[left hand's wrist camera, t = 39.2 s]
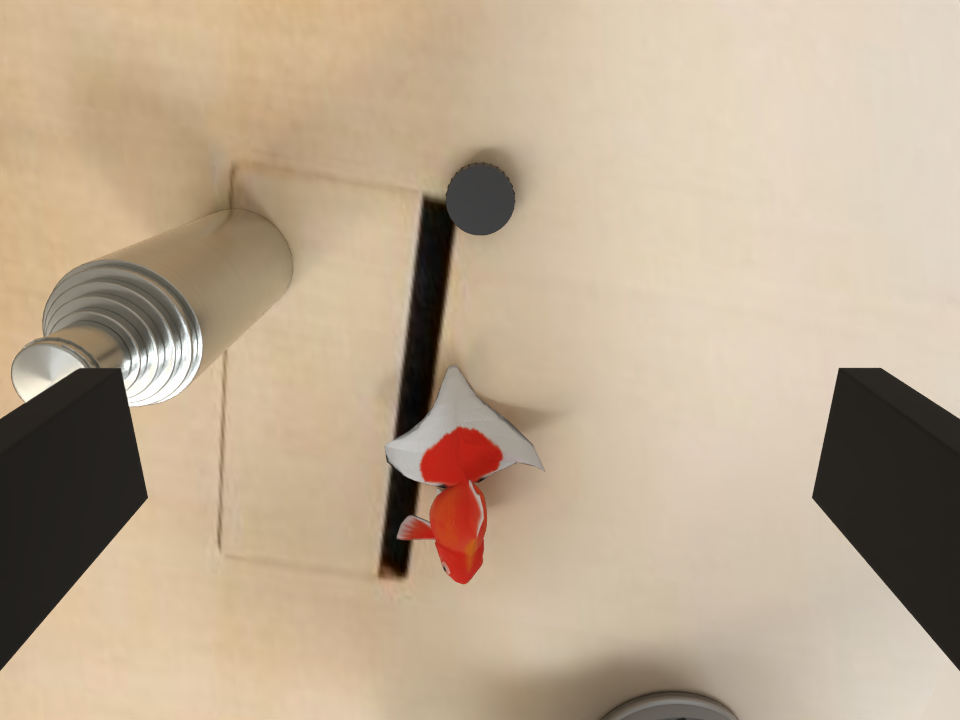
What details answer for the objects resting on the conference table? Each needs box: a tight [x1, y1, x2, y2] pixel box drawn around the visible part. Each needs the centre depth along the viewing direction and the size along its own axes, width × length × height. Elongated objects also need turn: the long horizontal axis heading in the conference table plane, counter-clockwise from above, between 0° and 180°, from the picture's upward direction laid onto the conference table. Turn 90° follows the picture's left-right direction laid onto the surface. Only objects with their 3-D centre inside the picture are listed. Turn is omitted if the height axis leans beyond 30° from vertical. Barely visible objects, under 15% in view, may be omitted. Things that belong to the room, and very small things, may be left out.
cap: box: [446, 162, 515, 235], centre depth 44 cm, size 5×5×2 cm
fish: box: [385, 365, 545, 584], centre depth 48 cm, size 11×16×10 cm
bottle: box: [11, 209, 293, 407], centre depth 36 cm, size 7×7×22 cm
